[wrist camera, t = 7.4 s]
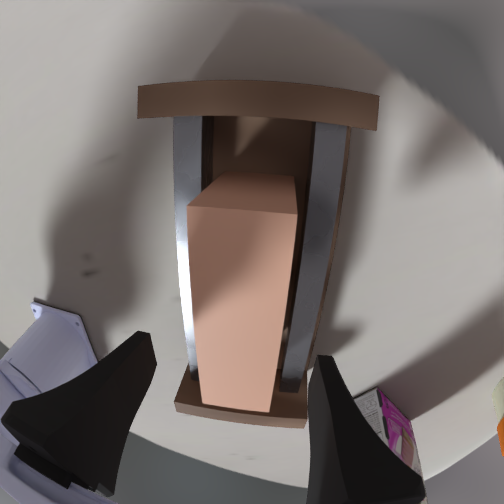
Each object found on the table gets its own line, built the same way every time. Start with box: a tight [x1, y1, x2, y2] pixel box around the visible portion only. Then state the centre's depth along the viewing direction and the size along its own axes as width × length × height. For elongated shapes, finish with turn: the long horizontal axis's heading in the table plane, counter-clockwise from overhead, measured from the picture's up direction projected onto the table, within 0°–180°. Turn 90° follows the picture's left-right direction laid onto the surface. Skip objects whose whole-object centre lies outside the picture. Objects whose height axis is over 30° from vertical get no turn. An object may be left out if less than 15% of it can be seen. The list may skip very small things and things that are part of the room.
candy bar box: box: [353, 388, 428, 504], centre depth 20 cm, size 11×5×16 cm, turn 42°
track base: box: [137, 80, 379, 429], centre depth 18 cm, size 22×10×6 cm, turn 177°
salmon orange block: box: [186, 171, 298, 412], centre depth 16 cm, size 12×4×7 cm, turn 177°
